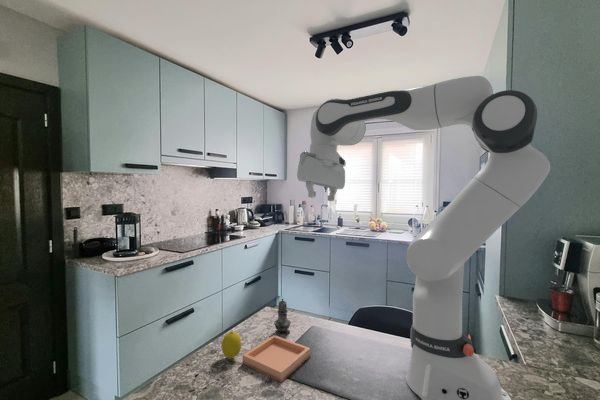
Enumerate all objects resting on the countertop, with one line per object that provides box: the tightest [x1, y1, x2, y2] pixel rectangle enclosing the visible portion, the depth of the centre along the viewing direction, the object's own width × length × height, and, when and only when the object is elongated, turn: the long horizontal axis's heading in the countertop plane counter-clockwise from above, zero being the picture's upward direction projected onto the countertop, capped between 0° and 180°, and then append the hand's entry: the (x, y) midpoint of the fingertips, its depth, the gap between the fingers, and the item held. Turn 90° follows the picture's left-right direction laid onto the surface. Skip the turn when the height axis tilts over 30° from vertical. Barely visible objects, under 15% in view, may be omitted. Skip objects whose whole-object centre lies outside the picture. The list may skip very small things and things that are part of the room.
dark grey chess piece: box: [273, 298, 292, 337], centre depth 96 cm, size 6×6×12 cm
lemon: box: [221, 330, 242, 360], centre depth 80 cm, size 6×6×8 cm
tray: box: [242, 334, 311, 383], centre depth 79 cm, size 14×14×2 cm
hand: (321, 199), depth 87 cm, fingers open, 8 cm apart
